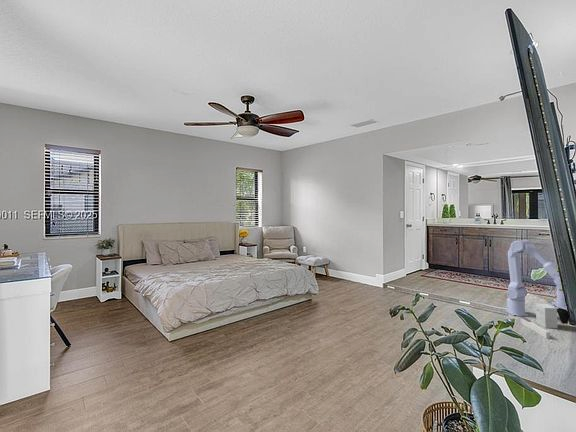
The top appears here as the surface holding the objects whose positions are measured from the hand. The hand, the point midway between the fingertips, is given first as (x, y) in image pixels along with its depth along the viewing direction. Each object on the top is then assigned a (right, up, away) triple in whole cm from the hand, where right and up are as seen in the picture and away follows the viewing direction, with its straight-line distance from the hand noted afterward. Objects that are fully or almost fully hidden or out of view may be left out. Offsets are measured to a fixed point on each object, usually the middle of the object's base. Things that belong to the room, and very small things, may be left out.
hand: (564, 323), depth 158 cm
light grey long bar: (-19, -2, -5) cm, 20 cm away
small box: (-8, -2, +1) cm, 8 cm away
